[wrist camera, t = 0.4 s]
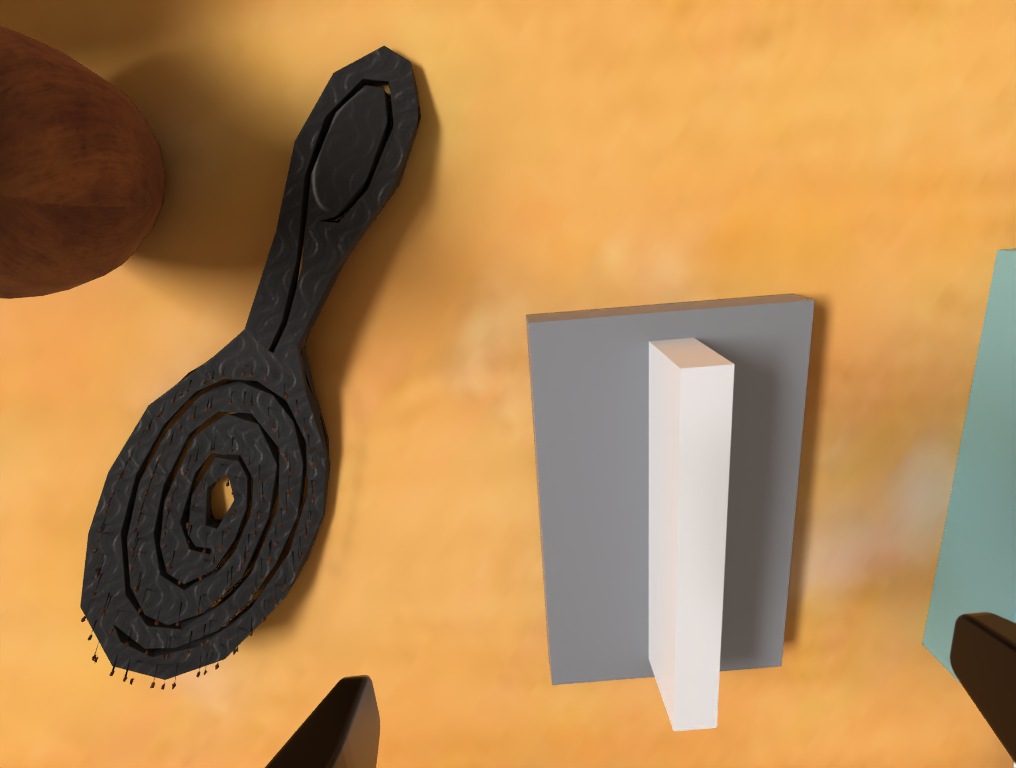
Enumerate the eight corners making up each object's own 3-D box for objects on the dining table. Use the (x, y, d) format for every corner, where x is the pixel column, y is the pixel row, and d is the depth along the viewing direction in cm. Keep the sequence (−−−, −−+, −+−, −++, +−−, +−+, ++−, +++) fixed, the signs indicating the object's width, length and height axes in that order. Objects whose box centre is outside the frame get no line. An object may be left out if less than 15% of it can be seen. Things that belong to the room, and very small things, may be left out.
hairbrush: (515, 103, 17) (225, 728, 22) (509, 126, 20) (261, 659, 26) (246, -49, 15) (6, 653, 21) (290, 5, 19) (76, 591, 24)
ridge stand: (765, 640, 26) (827, 738, 21) (548, 658, 26) (561, 760, 21) (792, 293, 21) (880, 319, 16) (526, 315, 21) (536, 347, 16)
